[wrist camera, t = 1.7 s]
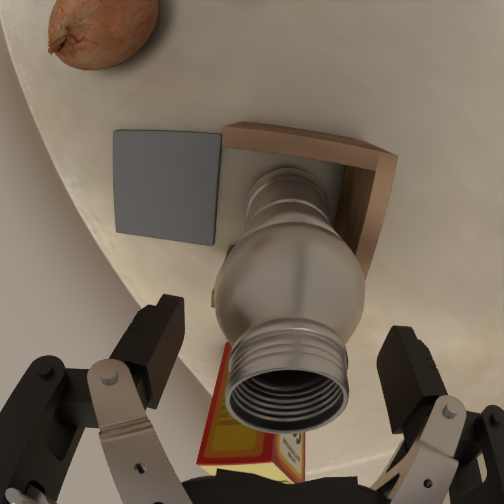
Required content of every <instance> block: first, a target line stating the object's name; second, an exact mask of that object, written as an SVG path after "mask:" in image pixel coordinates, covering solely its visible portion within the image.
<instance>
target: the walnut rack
mask: <svg viewBox="0 0 504 504" xmlns="http://www.w3.org/2000/svg"><path fill="white" fill-rule="evenodd" d="M222 147H227V148H237V149H246V150H255V151H263V152H270V153H278V154H285V155H292V156H298V157H304V158H311V159H316V160H322V161H328V162H333V163H339V164H344V165H346V171H345V176H344V181H343V186H342V191H341V196H340V201H339V206H338V210H337V215H336V220H335V224H334V229H333V230H334V231H335V232H336V233H337V234H338V235H339V236H340V237H341V239H342V240H343V241H344V242H345V243H346V244H347V245H348V247H349V248H350V249H351V250H352V252H353V254H354V255H355V257H356V258H357V260H358V262H359V264H360V266H361V268H362V271H363V274H364V279H365V280H366V277H367V273H368V270H369V267H370V264H371V261H372V258H373V254H374V251H375V248H376V244H377V241H378V237H379V234H380V230H381V226H382V223H383V219H384V215H385V211H386V208H387V204H388V200H389V195H390V191H391V187H392V183H393V178H394V174H395V169H396V164H397V159H398V156H397V155H395V154H392V153H390V152H388V151H386V150H384V149H381V148H379V147H377V146H374V145H372V144H370V143H367V142H365V141H361V140H356V139H352V138H347V137H342V136H337V135H332V134H326V133H321V132H315V131H309V130H303V129H297V128H290V127H283V126H276V125H268V124H260V123H251V122H239V123H235V124H231V125H227V126H224V127H223V136H222ZM234 246H235V245H230V247H229V250H228V252H227V255H226V257H227V256H228V254H229V253H230V252H231V250H232V249H233V248H234ZM225 259H226V258H225ZM224 261H225V260H224ZM214 287H215V286H214ZM211 307H214V308H215V303H214V289H213V292H212V300H211Z"/></svg>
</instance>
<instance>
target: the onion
mask: <svg viewBox="0 0 504 504" xmlns="http://www.w3.org/2000/svg"><path fill="white" fill-rule="evenodd" d="M158 9H159V5H158V0H57V1H56V3H55V5H54V7H53V10H52V13H51V16H50V19H49V29H48V33H49V42H48V43H49V45H48V46H49V49H48V52H49V53H50V54H51V55H52V53H55V54H56V55H57V56H58V57H59V58H60V59H61V61H62V62H64V63H65V64H67V65H69V66H71V67H74V68H77V69H81V70H101V69H106V68H109V67H112V66H115V65H117V64H119V63H121V62H123V61H125V60H126V59H128V58H129V57H131V56H132V55H133V54H134V53H136V52H137V51H138V50H139V49H140V48H141V47H142V46H143V45H144V43H145V42H146V41H147V39H148V38H149V36H150V35H151V33H152V31H153V29H154V26H155V24H156V21H157V17H158V13H159V10H158Z"/></svg>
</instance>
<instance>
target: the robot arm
mask: <svg viewBox="0 0 504 504" xmlns="http://www.w3.org/2000/svg"><path fill="white" fill-rule="evenodd" d="M184 334H185V316H184V298H183V297H178V296H173V295H167V294H163V295H162V297H161V298H160V300H159V302H158V303H157V305H156V306H154V305H149V304H148V305H147V306H146V307H144V308H143V309H141V310H140V311H138V313H137V314H136V316H135V317H134V319H133V321H132V323H131V324H130V325H129V327H128V329H127V330H126V332H125V333H124V335H123V336H122V338H121V339H120V341H119V343H118V344H117V346H116V348H115V349H114V351H113V352H112V354H111V356H110V357H109V359H104V360H101V361H99V362H97V363H95V364H94V365H92V366H91V368H90V369H71V368H65V366H64V364H63V362H62V361H61V360H60V359H59V358H58V357H55V356H50V355H47V356H42V357H39V358H37V359H36V360H34V361H33V362H32V364H31V365H30V366H29V368H28V369H27V371H26V372H25V374H24V375H23V377H22V378H21V380H20V381H19V383H18V384H17V386H16V388H15V389H14V391H13V392H12V394H11V395H10V397H9V399H8V400H7V402H6V404H5V405H4V407H3V409H2V411H1V412H0V504H57V503H56V501H57V498H58V495H59V493H60V490H61V487H62V484H63V481H64V479H65V476H66V474H67V471H68V468H69V466H70V463H71V461H72V458H73V456H74V453H75V451H76V448H77V446H78V443H79V441H80V439H81V436H82V434H83V431H84V429H85V427H89V428H100V432H99V438H100V442H101V445H102V448H103V451H104V454H105V457H106V460H107V463H108V466H109V469H110V471H111V474H112V477H113V479H114V482H115V485H116V487H117V490H118V492H119V495H120V497H121V500H122V502H123V504H442V503H443V501H444V499H445V497H446V494H447V492H448V490H449V495H450V502H451V504H504V411H503V410H502V409H501V408H500V407H498V406H496V405H489V406H487V407H486V408H485V409H484V410H483V411H482V412H481V414H480V413H475V412H470V411H466V409H465V407H464V405H463V404H462V402H461V401H460V400H459V399H457V398H456V397H453V396H450V395H448V394H447V391H446V389H445V386H444V384H443V381H442V379H441V376H440V374H439V372H438V369H437V368H436V365H435V362H434V360H432V359H433V358H432V356H431V353H430V351H429V349H428V348H427V347H426V345H425V344H424V343H423V342H422V341H421V340H418V339H417V337H416V335H415V333H414V331H413V329H412V327H408V326H395V325H394V326H392V327H391V329H390V331H389V333H388V335H387V337H386V339H385V341H384V343H383V346H382V348H381V350H380V352H379V354H378V357H377V370H378V374H379V378H380V382H381V386H382V390H383V394H384V398H385V403H386V407H387V411H388V416H389V420H390V425H391V430H392V434H402V433H403V434H404V439H403V440H402V441H401V442H400V444H399V446H398V448H397V449H396V451H395V453H394V455H393V456H392V458H391V460H390V461H389V463H388V465H387V466H386V468H385V469H384V471H383V473H382V474H381V476H380V477H379V478H378V480H377V481H376V482H375V483H374V484H373V485H372V486H371V487H370V488H368V487H366V486H362V485H358V479H357V476H354V477H324V478H320V479H315V480H311V481H306V482H301V483H295V484H286V483H282V482H279V481H275V480H272V479H269V478H266V477H263V476H260V475H257V474H254V473H247V472H239V471H232V470H226V469H220V468H217V471H216V475H214V476H203V477H198V478H193V479H190V480H187V481H184V482H182V483H181V482H180V481H179V479H178V477H177V475H176V473H175V471H174V469H173V467H172V465H171V463H170V461H169V459H168V458H167V455H166V453H165V452H164V449H163V447H162V445H161V443H160V441H159V439H158V437H157V434H156V432H155V430H154V428H153V425H152V424H151V422H150V420H149V419H148V417H147V415H146V412H145V410H146V408H147V407H148V408H152V409H157V406H158V404H159V401H160V398H161V396H162V393H163V390H164V388H165V386H166V383H167V380H168V378H169V375H170V373H171V370H172V368H173V365H174V363H175V361H176V358H177V356H178V353H179V351H180V348H181V346H182V343H183V339H184ZM482 453H483V456H484V460H485V464H486V469H487V477H486V479H485V481H484V482H483V483H482V479H481V474H480V470H479V465H478V461H477V457H478V456H479V455H480V454H482Z"/></svg>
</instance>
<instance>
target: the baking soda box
mask: <svg viewBox="0 0 504 504" xmlns="http://www.w3.org/2000/svg"><path fill="white" fill-rule="evenodd" d="M231 351H232V346H231V345H230V343H229V342H226V345H225V349H224V353H223V357H222V361H221V365H220V369H219V373H218V377H217V381H216V385H215V389H214V393H213V397H212V402H211V405H210V410H209V414H208V418H207V422H206V426H205V430H204V434H203V438H202V442H201V446H200V451H199V454H198V458H197V463H196V464H197V465H199V466H200V467H201V468H203V469H204V470H205V471H207V472H208V473H209V474H211V475H212V476H214V475H216V471H217V468H220V469H226V470H232V471H239V472H247V473H254V474H257V475H260V476H263V477H266V478H269V479H272V480H275V481H279V482H282V483H286V484H295V483H301V482H305V432H301V433H295V434H274V433H267V432H262V431H258V430H255V429H252V428H249V427H247V426H245V425H243V424H241V423H240V422H238V421H237V420H236V419H235V418H233V417H232V416H231V414H230V413H229V412H228V410H227V408H226V405H225V390H226V386H227V382H228V377H229V372H228V363H229V359H230V354H231Z"/></svg>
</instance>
